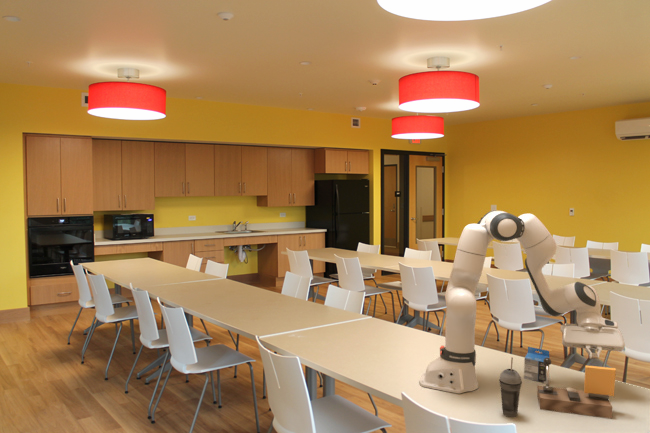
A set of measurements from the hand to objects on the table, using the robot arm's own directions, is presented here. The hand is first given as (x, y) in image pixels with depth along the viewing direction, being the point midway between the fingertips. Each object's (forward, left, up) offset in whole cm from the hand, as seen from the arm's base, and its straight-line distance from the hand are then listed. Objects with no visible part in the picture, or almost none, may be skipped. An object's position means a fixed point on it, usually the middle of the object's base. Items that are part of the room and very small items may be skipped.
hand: (594, 358), depth 177 cm
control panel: (-8, -8, -15) cm, 19 cm away
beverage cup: (-29, -22, -16) cm, 40 cm away
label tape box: (-18, +16, -16) cm, 29 cm away
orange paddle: (0, -8, -10) cm, 13 cm away
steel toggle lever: (-16, -8, -10) cm, 21 cm away
